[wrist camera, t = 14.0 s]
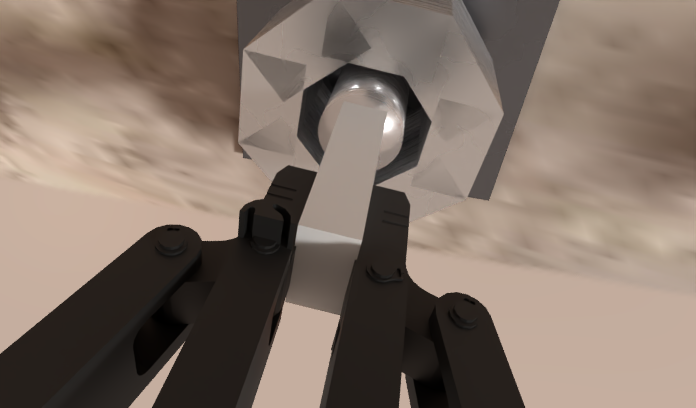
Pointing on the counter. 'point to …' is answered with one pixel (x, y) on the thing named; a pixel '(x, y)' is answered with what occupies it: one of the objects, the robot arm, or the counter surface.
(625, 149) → the counter surface
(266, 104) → the octagonal ball socket
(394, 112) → the hub
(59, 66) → the counter surface
